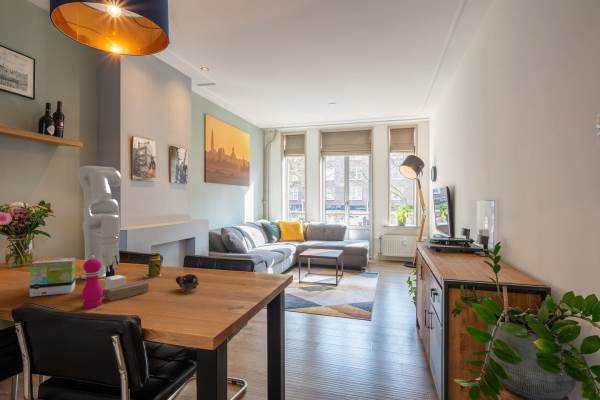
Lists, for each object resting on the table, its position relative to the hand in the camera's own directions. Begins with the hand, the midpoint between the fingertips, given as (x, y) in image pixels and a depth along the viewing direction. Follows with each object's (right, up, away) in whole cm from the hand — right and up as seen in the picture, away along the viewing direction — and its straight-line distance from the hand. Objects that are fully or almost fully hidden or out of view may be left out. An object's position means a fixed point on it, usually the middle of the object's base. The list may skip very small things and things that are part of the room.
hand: (110, 279), depth 149 cm
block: (+4, -4, -3) cm, 7 cm away
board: (+13, -4, -10) cm, 17 cm away
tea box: (-22, -4, -7) cm, 23 cm away
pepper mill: (+7, -5, -23) cm, 25 cm away
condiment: (+9, -4, +25) cm, 27 cm away
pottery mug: (+37, -5, -1) cm, 37 cm away
